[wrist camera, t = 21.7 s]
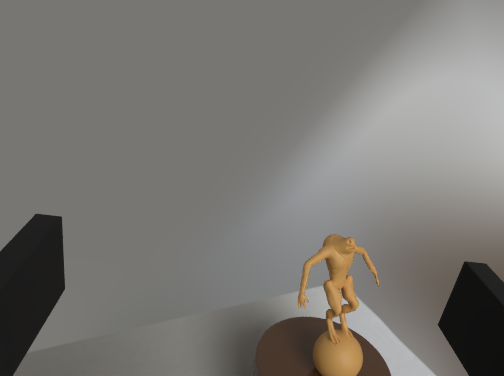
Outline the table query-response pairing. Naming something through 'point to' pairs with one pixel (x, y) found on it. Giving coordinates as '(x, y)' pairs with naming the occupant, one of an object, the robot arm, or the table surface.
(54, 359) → the table surface
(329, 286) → the figurine
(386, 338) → the table surface
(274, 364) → the jar
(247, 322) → the table surface
